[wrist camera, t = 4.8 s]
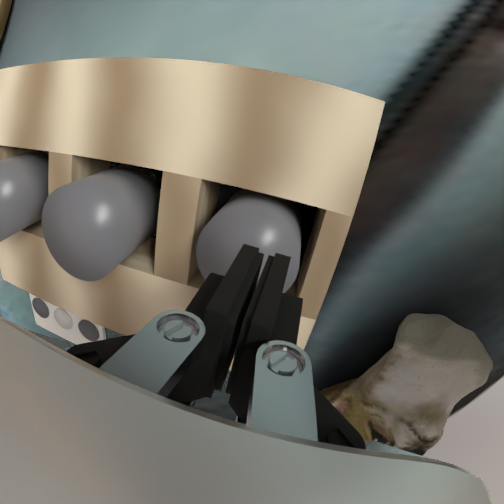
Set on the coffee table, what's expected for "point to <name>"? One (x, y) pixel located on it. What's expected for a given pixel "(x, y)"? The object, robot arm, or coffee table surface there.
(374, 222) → the coffee table surface
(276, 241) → the button
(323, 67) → the coffee table surface
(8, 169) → the button
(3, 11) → the plant saucer
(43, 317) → the pattern card
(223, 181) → the button board
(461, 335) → the ceramic sculpture
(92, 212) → the middle button
